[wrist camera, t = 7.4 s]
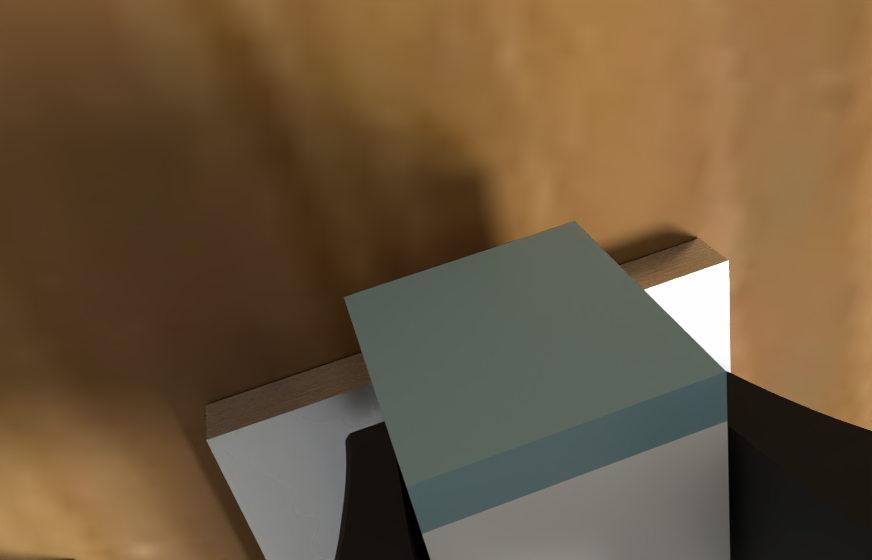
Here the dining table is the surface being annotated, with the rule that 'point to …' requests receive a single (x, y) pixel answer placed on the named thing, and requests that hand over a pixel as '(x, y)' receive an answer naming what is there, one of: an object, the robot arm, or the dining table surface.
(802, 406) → the robot arm
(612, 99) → the dining table surface
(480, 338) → the cartridge
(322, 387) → the housing
